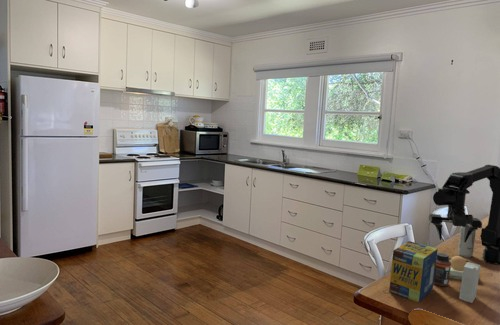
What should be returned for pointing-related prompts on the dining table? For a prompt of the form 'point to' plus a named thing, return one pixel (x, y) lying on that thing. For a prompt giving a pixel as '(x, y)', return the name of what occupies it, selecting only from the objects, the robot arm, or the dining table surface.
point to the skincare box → (469, 282)
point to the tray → (456, 274)
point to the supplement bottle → (442, 270)
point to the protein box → (413, 270)
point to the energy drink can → (466, 244)
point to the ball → (458, 263)
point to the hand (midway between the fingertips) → (452, 240)
